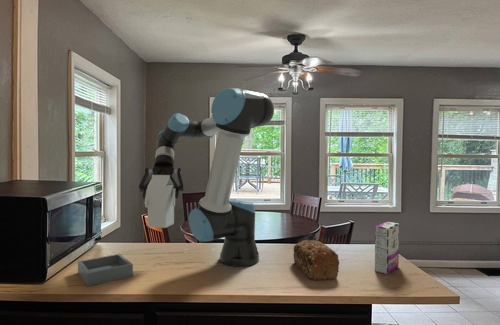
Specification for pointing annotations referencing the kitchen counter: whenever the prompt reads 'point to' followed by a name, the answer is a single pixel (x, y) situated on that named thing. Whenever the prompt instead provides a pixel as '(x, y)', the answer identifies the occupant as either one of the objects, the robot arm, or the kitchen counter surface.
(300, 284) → the kitchen counter surface
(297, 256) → the bread
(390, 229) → the candy bar box
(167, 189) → the milk carton
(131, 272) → the bin
